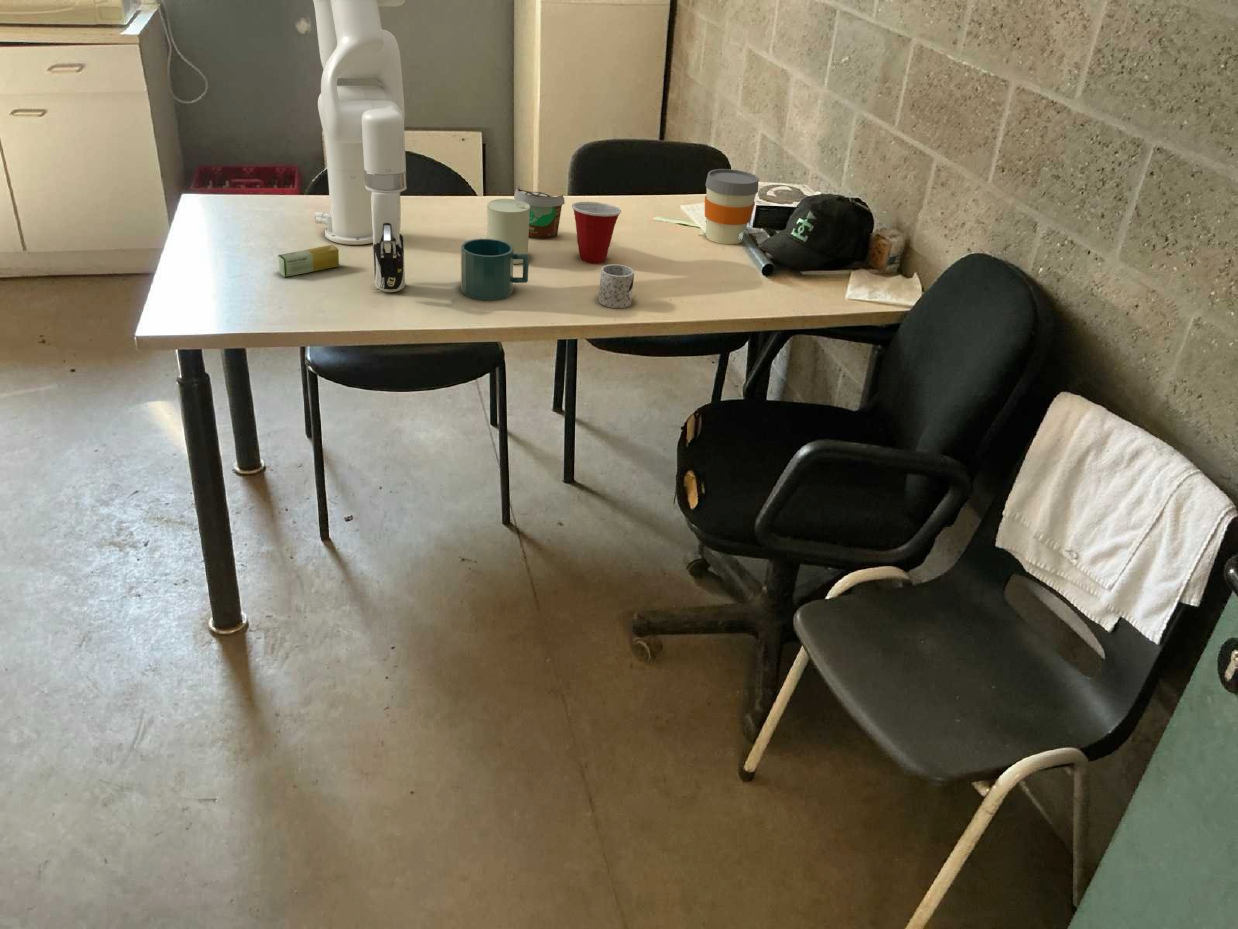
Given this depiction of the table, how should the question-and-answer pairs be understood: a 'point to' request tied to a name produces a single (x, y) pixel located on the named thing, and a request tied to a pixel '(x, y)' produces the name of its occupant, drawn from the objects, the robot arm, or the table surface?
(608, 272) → the mug
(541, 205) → the food container
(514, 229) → the can
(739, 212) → the reusable coffee cup
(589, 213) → the plastic cup
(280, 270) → the medication box
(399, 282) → the beverage can
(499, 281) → the mug
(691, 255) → the table surface
